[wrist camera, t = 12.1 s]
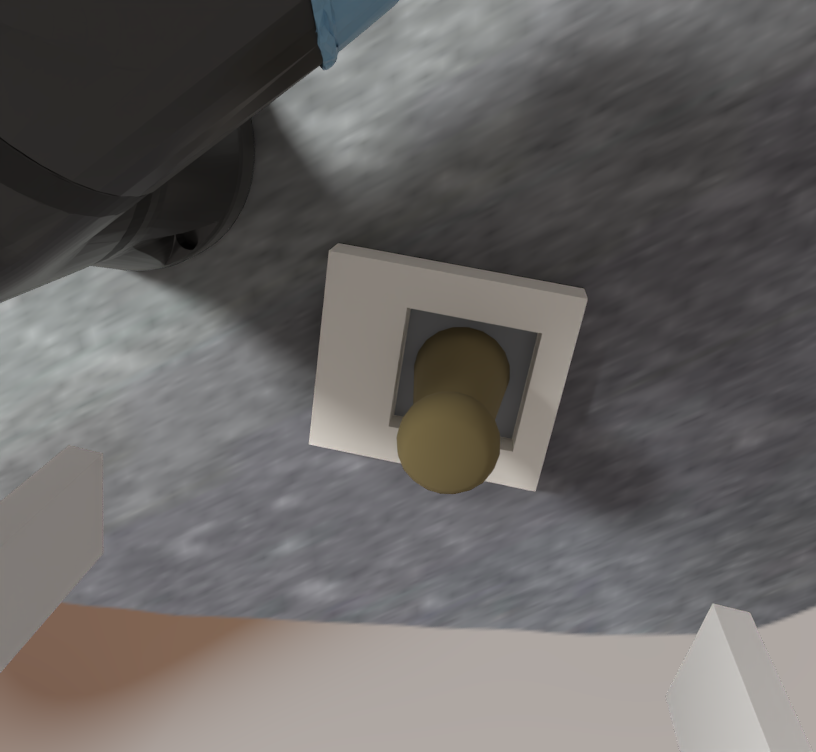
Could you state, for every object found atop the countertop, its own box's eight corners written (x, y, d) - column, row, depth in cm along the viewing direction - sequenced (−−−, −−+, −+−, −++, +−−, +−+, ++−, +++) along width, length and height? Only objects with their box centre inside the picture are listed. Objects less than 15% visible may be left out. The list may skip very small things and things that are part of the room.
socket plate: (317, 428, 46) (308, 444, 44) (338, 242, 41) (328, 250, 38) (534, 473, 45) (535, 491, 43) (584, 288, 39) (587, 299, 37)
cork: (516, 409, 42) (517, 507, 32) (424, 420, 44) (397, 519, 34) (502, 319, 40) (498, 395, 30) (405, 334, 41) (370, 411, 31)
